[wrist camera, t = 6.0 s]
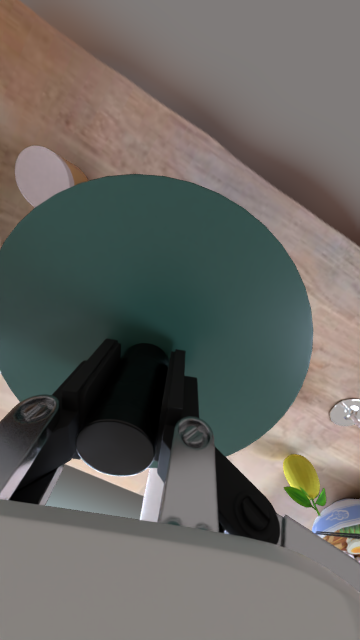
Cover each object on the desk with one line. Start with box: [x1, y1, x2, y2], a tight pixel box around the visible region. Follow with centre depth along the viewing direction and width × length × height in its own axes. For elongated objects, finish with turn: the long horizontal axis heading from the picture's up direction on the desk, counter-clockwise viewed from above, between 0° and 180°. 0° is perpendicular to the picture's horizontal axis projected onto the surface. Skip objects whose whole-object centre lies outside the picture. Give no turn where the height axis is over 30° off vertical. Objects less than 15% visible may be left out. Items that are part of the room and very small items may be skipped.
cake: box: [15, 146, 88, 207], centre depth 24 cm, size 6×6×5 cm
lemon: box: [283, 454, 326, 516], centre depth 37 cm, size 7×6×10 cm
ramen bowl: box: [312, 499, 360, 563], centre depth 43 cm, size 25×23×8 cm
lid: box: [0, 174, 313, 476], centre depth 9 cm, size 18×18×6 cm
